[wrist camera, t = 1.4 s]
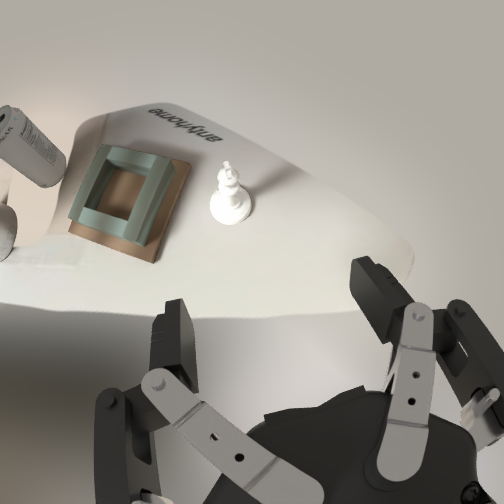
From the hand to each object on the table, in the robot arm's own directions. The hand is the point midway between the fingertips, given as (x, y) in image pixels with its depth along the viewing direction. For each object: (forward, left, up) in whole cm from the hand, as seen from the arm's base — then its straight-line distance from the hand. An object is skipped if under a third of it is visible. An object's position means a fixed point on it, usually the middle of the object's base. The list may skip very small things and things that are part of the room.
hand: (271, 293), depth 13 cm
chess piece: (-6, +10, -20) cm, 23 cm away
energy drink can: (-34, +8, -20) cm, 40 cm away
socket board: (-19, +7, -20) cm, 28 cm away
